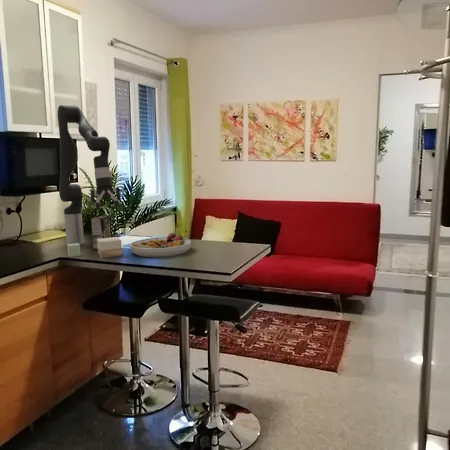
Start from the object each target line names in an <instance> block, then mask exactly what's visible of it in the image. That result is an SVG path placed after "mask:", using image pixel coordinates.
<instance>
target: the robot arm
mask: <svg viewBox="0 0 450 450" xmlns="http://www.w3.org/2000/svg"><path fill="white" fill-rule="evenodd" d="M57 121H58V122H57V123H58V133H59V134H58V135H59V168H60V169H59V188H58V194H59V198H60V201H62V202H64V203H68V202H70V205H68V206H67V207H66V208H64V209H63V214H64V215H63V216H64V227H65V240H66V245H67V244H74V243H79V244H80V246H81V245H84V244H85V240H84V235H85V234H84V226H83V223H84V222H83V214H82V213H83V212H82V211H83V191H82V188H81V186H80V184H77V183H73V184H70V180H71V179H70V178H71V175H72V173H73V171H74V169H75V168H76V165H78V160H79V154H78V153H79V151H78V150H79V149H78V146H77V144H76V142H75V140H74V139H73V138H72V136H71V134H70V131H69V125H68V124H77V125H78V129H77V130H78V133H79V135H80V136H81V137H82V138H83V139H84V140H85V143H86V146H87V148H88V150H90V151H92V152H100V155H96V156H94V157H93V168H94V177H95V178H94V179H95V185H96V189H91V190H90V191H89V192H90V201H91V203H94V204H95V209H96V210H97V211H98V212H101V207H100V206H101V205H100V203H99V202H100V200H101V199H102V198H103V199H104V198H111V200H112V201H113V207H114V209H116V210H117V209H118V207H119V205H118V204H119V202H118V201H119V200H121V198H122V197H121V192H120V188H119V187H115V188H113V183H112V173H111V170H110V163H109V153H110V147H111V146H110V145H111V143H110V140H109V138H108V137H106V136H99V133H98V131H97V130H96V129H95V128H94V127H93V126H92V125H91V124H90V123H89V121H88V119H87V117H86V116H85V115H84V113H83V111H82V110H81V109H80V107H78V106H77V105H74V104H60V105H58V108H57ZM114 193H115V195H114ZM96 194H97V197H96V198H95V195H96Z"/></svg>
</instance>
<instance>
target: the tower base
mask: <svg viewBox="0 0 450 450" xmlns="http://www.w3.org/2000/svg"><path fill="white" fill-rule="evenodd" d="M97 255H99V257H100V258H110V257H111V258H112V257H119V256H123V248H119V249H109V250H100V249H99V248H98V249H97Z"/></svg>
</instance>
